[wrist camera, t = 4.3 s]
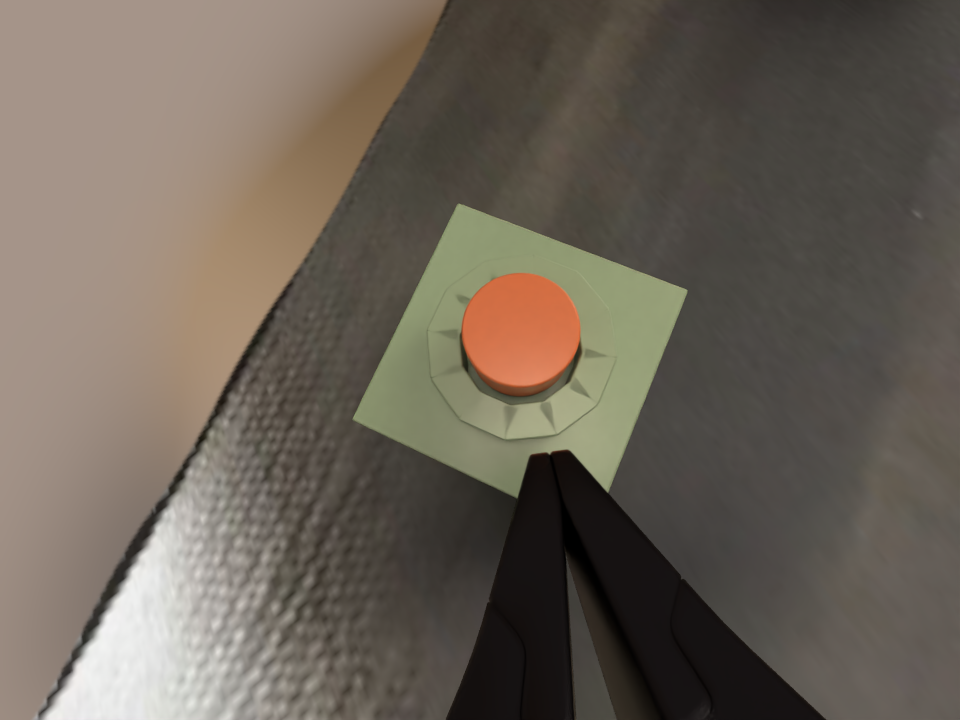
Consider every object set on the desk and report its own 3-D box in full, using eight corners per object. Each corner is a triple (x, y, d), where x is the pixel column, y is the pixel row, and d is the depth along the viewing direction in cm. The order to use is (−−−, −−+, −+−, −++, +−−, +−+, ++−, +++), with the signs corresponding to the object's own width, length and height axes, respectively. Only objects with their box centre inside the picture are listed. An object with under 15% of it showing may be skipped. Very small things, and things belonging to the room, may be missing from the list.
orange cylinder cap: (547, 413, 16) (552, 407, 13) (453, 372, 16) (441, 358, 14) (586, 320, 16) (599, 297, 14) (494, 283, 17) (490, 255, 14)
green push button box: (571, 510, 22) (602, 546, 14) (392, 426, 24) (330, 417, 16) (645, 328, 23) (710, 270, 16) (471, 259, 25) (450, 174, 17)
